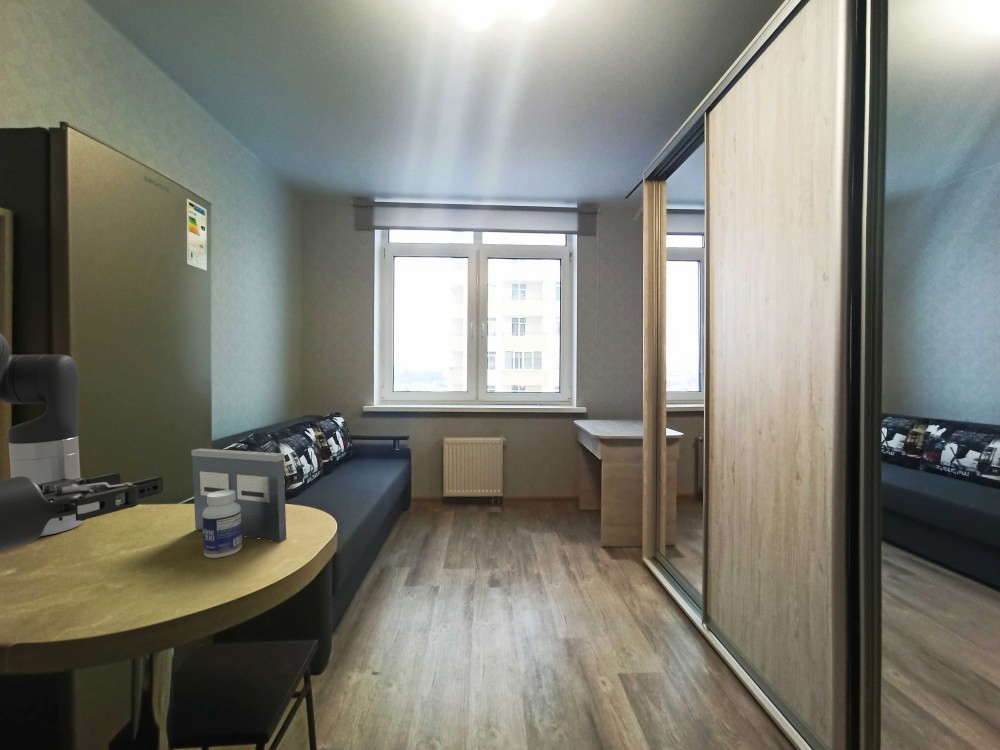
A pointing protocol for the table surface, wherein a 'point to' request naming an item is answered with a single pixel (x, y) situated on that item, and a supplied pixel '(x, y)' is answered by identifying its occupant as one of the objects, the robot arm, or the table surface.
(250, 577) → the table surface
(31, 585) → the table surface
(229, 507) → the pill bottle
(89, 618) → the table surface
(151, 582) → the table surface
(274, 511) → the label panel
